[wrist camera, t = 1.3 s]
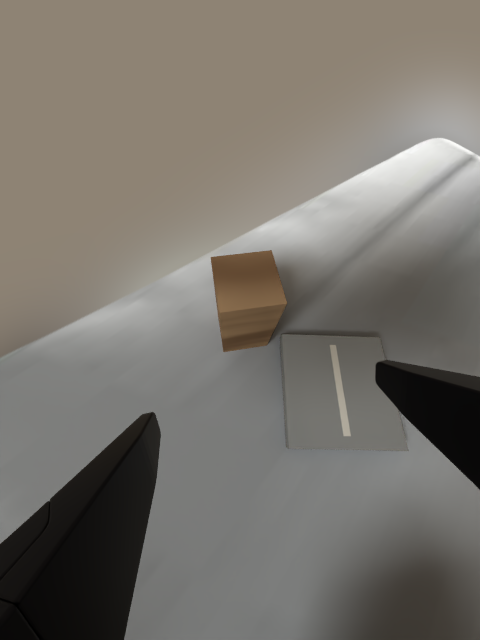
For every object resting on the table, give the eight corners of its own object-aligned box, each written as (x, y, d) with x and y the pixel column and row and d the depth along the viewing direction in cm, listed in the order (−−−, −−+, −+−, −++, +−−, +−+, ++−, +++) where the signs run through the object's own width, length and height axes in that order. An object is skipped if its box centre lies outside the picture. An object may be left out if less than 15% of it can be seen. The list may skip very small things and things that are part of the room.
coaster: (400, 449, 19) (409, 451, 18) (286, 447, 19) (289, 448, 18) (373, 340, 23) (380, 337, 22) (279, 337, 23) (282, 333, 22)
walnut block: (266, 345, 23) (287, 303, 14) (223, 352, 22) (219, 312, 14) (258, 306, 24) (271, 250, 16) (217, 312, 24) (210, 257, 16)
